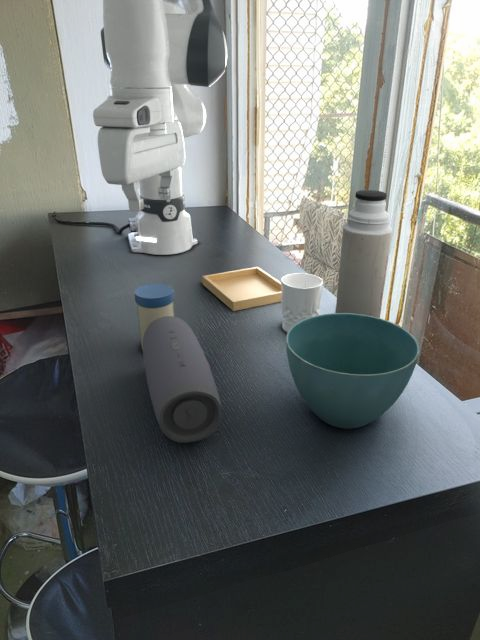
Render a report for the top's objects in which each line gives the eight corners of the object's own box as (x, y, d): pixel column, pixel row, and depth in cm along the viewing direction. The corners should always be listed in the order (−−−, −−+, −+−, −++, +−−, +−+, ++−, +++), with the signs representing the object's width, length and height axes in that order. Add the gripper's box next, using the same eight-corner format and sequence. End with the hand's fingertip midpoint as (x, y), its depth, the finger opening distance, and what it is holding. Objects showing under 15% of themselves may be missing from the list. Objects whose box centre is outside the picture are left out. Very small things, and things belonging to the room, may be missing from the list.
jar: (137, 342, 96) (131, 290, 91) (169, 335, 99) (165, 284, 94) (147, 357, 92) (142, 303, 86) (181, 349, 94) (177, 296, 89)
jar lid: (130, 296, 92) (129, 287, 91) (166, 289, 95) (165, 281, 94) (141, 310, 87) (140, 301, 86) (179, 303, 90) (179, 294, 89)
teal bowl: (319, 465, 68) (327, 386, 62) (263, 393, 82) (265, 323, 76) (431, 433, 74) (448, 358, 68) (361, 371, 89) (369, 305, 83)
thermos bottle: (375, 339, 99) (397, 188, 86) (375, 359, 92) (398, 199, 79) (333, 334, 101) (348, 185, 87) (330, 354, 94) (345, 195, 80)
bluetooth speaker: (227, 444, 71) (226, 382, 66) (158, 456, 69) (152, 392, 64) (197, 362, 90) (195, 310, 85) (142, 369, 88) (136, 316, 83)
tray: (202, 284, 122) (202, 275, 121) (257, 274, 128) (258, 266, 127) (233, 311, 109) (233, 302, 108) (293, 299, 115) (293, 290, 114)
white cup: (323, 322, 105) (327, 276, 100) (313, 340, 98) (317, 290, 94) (285, 316, 107) (287, 270, 102) (274, 333, 101) (275, 284, 96)
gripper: (157, 105, 87) (163, 190, 93) (84, 113, 70) (99, 217, 76) (191, 106, 85) (196, 193, 92) (126, 114, 68) (137, 220, 74)
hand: (151, 204), depth 84 cm, fingers open, 8 cm apart
